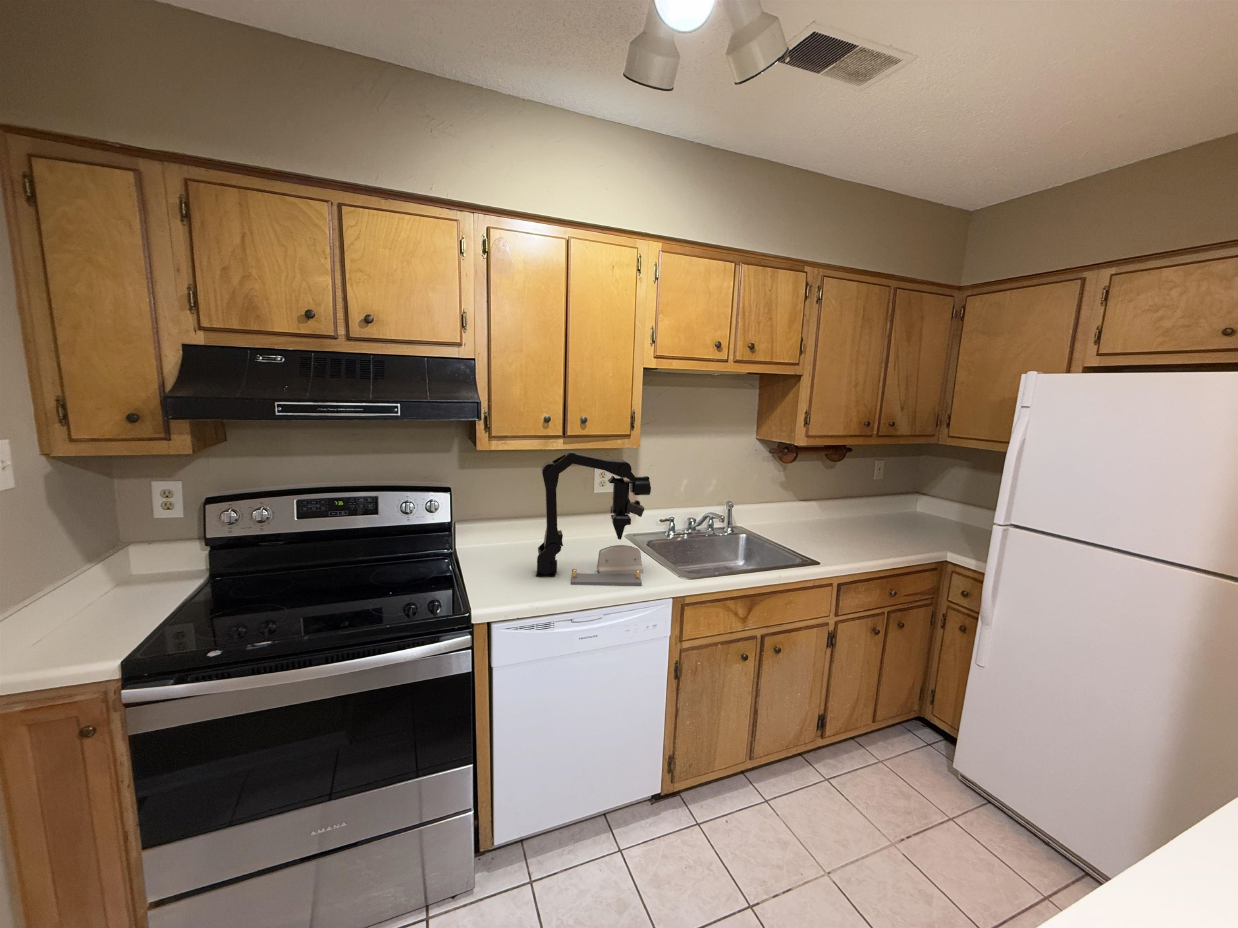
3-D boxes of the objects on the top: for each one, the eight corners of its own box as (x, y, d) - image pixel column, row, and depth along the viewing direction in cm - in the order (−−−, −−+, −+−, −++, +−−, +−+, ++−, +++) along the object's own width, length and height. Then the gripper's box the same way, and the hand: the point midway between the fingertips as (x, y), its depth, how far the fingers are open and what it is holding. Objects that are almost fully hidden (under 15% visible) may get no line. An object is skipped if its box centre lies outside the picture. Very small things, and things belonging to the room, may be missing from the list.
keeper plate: (570, 585, 169) (571, 573, 168) (571, 576, 177) (571, 565, 176) (641, 585, 171) (642, 574, 170) (639, 577, 178) (639, 566, 178)
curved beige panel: (598, 575, 179) (598, 547, 178) (596, 572, 183) (596, 545, 183) (643, 573, 182) (644, 546, 182) (640, 570, 187) (640, 543, 187)
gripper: (646, 501, 170) (644, 546, 172) (640, 490, 189) (638, 530, 191) (613, 500, 169) (612, 545, 172) (610, 489, 188) (609, 530, 190)
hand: (619, 537), depth 181 cm, fingers open, 4 cm apart
